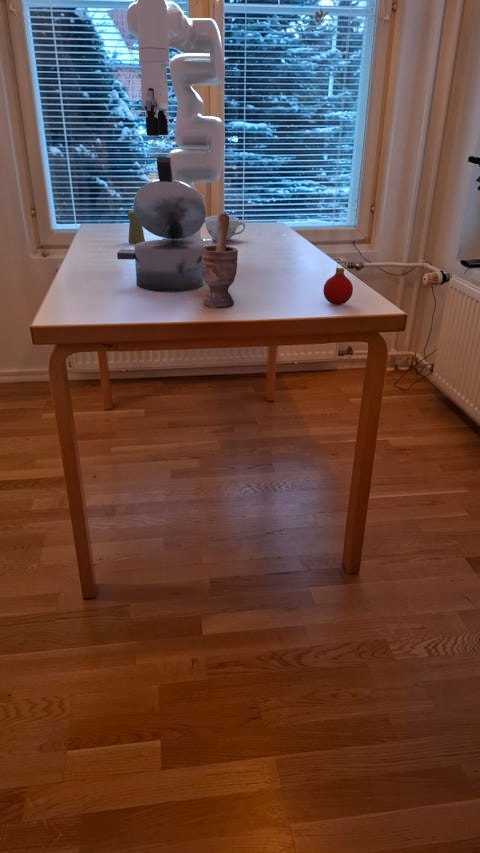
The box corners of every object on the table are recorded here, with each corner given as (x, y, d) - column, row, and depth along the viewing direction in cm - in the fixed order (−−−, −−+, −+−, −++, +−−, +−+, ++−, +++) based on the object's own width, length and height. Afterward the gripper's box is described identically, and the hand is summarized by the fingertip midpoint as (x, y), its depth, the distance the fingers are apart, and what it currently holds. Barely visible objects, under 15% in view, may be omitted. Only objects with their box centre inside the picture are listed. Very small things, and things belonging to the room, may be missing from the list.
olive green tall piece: (141, 244, 207) (140, 211, 201) (125, 243, 208) (123, 211, 202) (147, 241, 212) (145, 209, 207) (131, 240, 213) (129, 208, 208)
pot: (128, 273, 167) (126, 237, 162) (221, 275, 167) (221, 239, 162) (114, 290, 150) (111, 251, 145) (217, 293, 149) (217, 253, 145)
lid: (139, 238, 161) (140, 230, 163) (207, 239, 161) (207, 232, 162) (123, 162, 140) (125, 154, 141) (202, 163, 139) (203, 156, 141)
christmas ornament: (324, 308, 139) (327, 266, 135) (320, 300, 145) (323, 259, 141) (353, 308, 139) (358, 266, 135) (348, 300, 146) (352, 260, 141)
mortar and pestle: (196, 296, 146) (195, 212, 137) (230, 295, 148) (231, 212, 139) (204, 309, 136) (203, 220, 127) (240, 307, 138) (241, 219, 129)
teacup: (203, 242, 212) (203, 219, 208) (205, 236, 223) (205, 215, 219) (244, 243, 212) (245, 220, 208) (244, 237, 223) (245, 215, 219)
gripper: (148, 61, 152) (151, 134, 160) (129, 54, 137) (134, 135, 145) (176, 61, 151) (178, 135, 159) (161, 55, 136) (164, 136, 144)
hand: (157, 135), depth 152 cm, fingers open, 9 cm apart
